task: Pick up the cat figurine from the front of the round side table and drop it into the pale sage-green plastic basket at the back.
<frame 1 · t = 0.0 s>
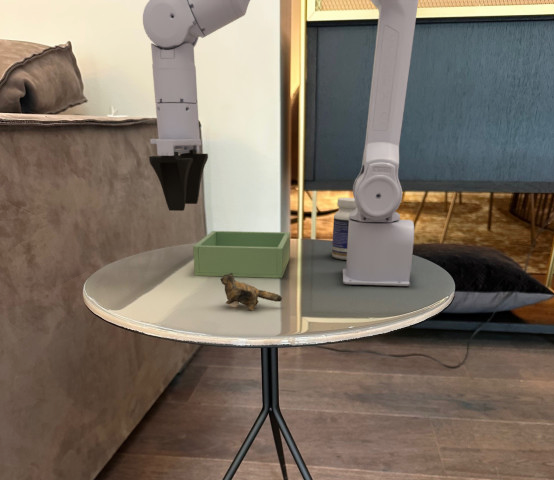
hand: (183, 206, 77), 10 cm above the table, tool pointing down, fingers open, 7 cm apart
pill bottle: (347, 258, 93), on the table
cat figurine: (251, 309, 66), on the table
basket: (245, 266, 86), on the table
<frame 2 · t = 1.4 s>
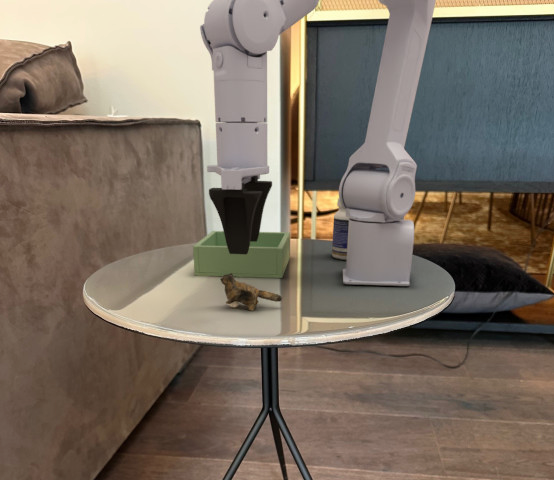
hand: (244, 247, 63), 8 cm above the table, tool pointing down, fingers open, 7 cm apart
nothing on the table moved.
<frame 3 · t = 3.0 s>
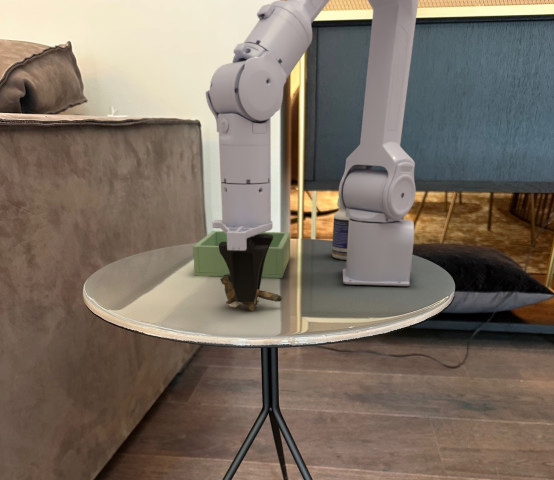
hand: (248, 297, 65), 1 cm above the table, tool pointing down, fingers closed on cat figurine, 3 cm apart
cat figurine: (251, 309, 66), on the table, touching gripper
everything else where it was.
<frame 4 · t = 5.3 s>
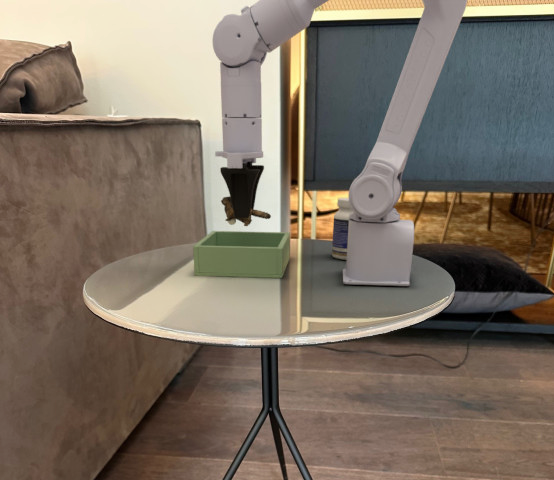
hand: (244, 215, 81), 8 cm above the table, tool pointing down, fingers closed on cat figurine, 3 cm apart
cat figurine: (246, 226, 81), point 7 cm above the table, touching gripper
everything else where it was.
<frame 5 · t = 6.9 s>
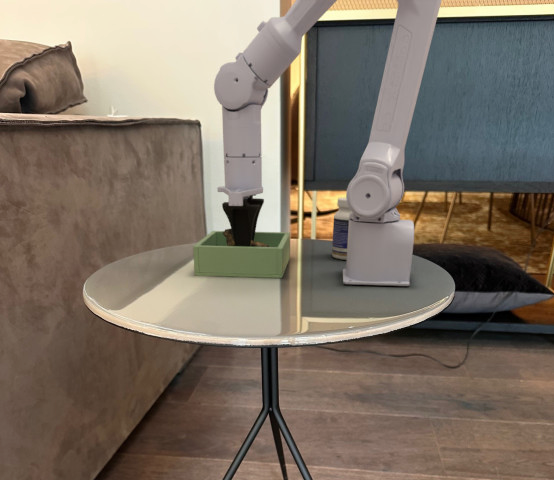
hand: (244, 246, 85), 3 cm above the table, tool pointing down, fingers closed on cat figurine, 3 cm apart
cat figurine: (246, 256, 85), point 2 cm above the table, touching gripper
everything else where it was.
when the fingers open (2 cm above the table, at t = 7.6 s): cat figurine stays where it is, resting on basket.
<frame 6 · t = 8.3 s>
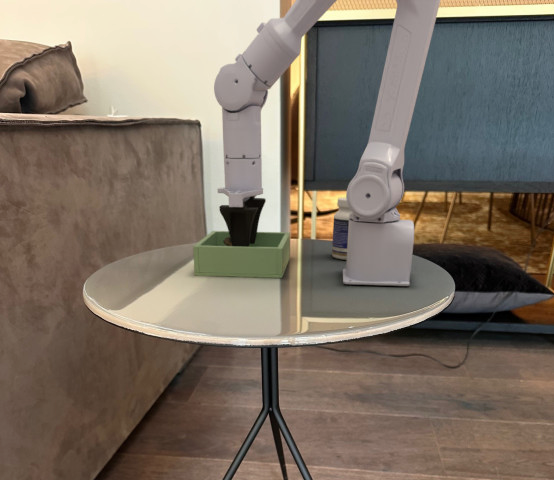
hand: (244, 247, 85), 3 cm above the table, tool pointing down, fingers open, 7 cm apart
cat figurine: (246, 264, 86), resting on basket
everything else where it was.
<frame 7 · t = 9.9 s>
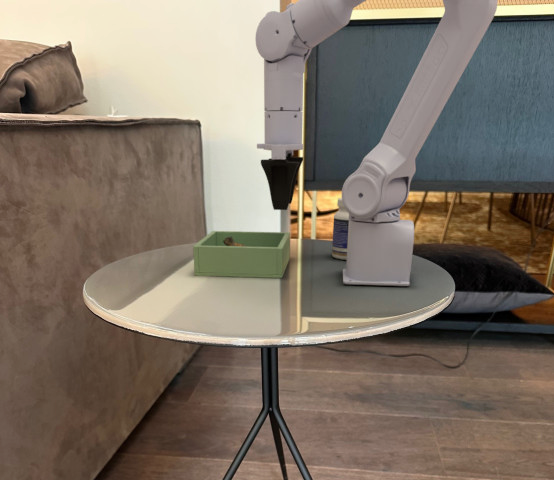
hand: (282, 206, 84), 9 cm above the table, tool pointing down, fingers open, 7 cm apart
nothing on the table moved.
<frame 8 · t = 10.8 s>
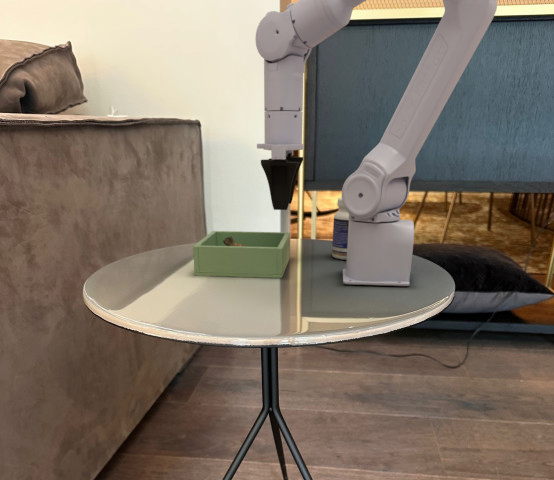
hand: (282, 206, 84), 9 cm above the table, tool pointing down, fingers open, 7 cm apart
nothing on the table moved.
at the end: cat figurine inside the target area in the basket (0.3 cm from its centre), point 0.3 cm above the basket's base; the gripper is holding nothing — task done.
